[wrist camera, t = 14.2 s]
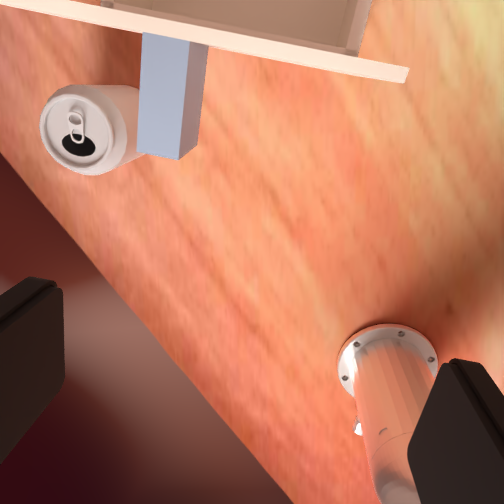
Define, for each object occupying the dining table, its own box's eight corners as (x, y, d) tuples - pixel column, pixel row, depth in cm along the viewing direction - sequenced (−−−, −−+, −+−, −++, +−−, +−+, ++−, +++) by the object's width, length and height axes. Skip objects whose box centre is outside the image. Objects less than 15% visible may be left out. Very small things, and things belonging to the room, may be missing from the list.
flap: (354, 66, 31) (335, 140, 33) (100, 16, 31) (99, 93, 33) (409, 67, 16) (367, 198, 19) (-72, -28, 16) (-51, 113, 19)
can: (95, 150, 45) (32, 171, 34) (95, 79, 42) (26, 76, 31) (160, 161, 45) (118, 186, 34) (165, 90, 42) (120, 92, 31)
